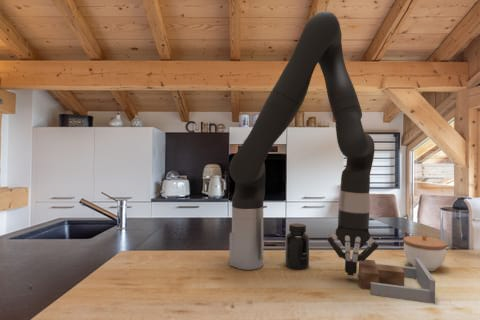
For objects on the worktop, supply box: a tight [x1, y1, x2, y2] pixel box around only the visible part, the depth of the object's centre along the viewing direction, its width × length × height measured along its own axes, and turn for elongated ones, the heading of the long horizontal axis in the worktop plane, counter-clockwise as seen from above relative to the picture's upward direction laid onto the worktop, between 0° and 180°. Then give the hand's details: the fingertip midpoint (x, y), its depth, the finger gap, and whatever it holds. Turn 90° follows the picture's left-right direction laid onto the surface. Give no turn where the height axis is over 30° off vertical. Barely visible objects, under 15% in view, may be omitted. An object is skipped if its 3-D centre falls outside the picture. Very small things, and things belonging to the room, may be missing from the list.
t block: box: [358, 259, 405, 291], centre depth 78 cm, size 10×10×4 cm
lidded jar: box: [402, 234, 448, 272], centre depth 89 cm, size 11×11×9 cm
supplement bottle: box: [284, 223, 310, 270], centre depth 90 cm, size 7×7×12 cm
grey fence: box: [370, 258, 436, 304], centre depth 77 cm, size 13×15×5 cm
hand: (350, 274), depth 81 cm, fingers closed
